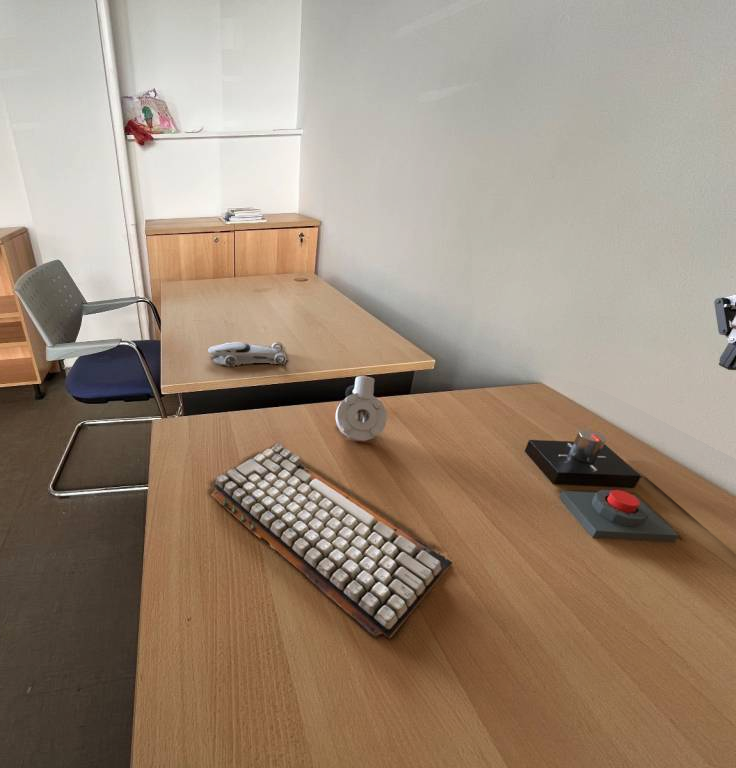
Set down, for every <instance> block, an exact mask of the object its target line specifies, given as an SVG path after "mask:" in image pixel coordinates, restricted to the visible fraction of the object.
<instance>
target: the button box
mask: <svg viewBox="0 0 736 768" xmlns="http://www.w3.org/2000/svg"><path fill="white" fill-rule="evenodd" d="M611 491H613V489H601V490H599V491H597V492H591V491H572V490H571V491H570V490H561V492H560V494H559V496H558V500H560V501H561V503H562V504H563V506H565V507H566V509H567V510H568V511H569V513H570V514H571V515H572V516H573V517H574V518H575V519H576V520H577V522H578V523H579V524H580V526H582V528H583V529H584V530H585V531H586V532H587V533H588V535H589V536H590V537H591V538H592V539H607V540H622V541H639V542H653V543H654V542H655V543H656V542H657V543H670V544H671V543H672V544H673V543H675V542H676V541H677V539H678V538H679V536H680V535H679V533H677V532H676V531H675V530H674V529H673V528H672V527H671V526H670V525H669V524H668V523H666V522H665V521H664V520H663V519H662V518H661V517H660V516H659V515H658V514H657V513H656V512H655V511H654V510H652V508H651V507H649V506H648V504H646V503H645V501H643V500H642V499H641V498H640V497H639V496H637V494H635V493H634V494H633V493H632V494H631V493H630V494H631V495H633V496H635V497H636V498H637V499H638V500H639V502H640V504H639V506H638V507H637V509H636V511H635V512H634V513H625V512H622V511H619V510H617V509H615V508H613V507H612V506H610V505H609V504H608V503H607V498H608V496H609V495H610V493H611Z"/></svg>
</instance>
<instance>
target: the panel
mask: <svg viewBox="0 0 736 768" xmlns="http://www.w3.org/2000/svg"><path fill="white" fill-rule="evenodd" d="M574 441H575V440H574ZM574 441H572V440H568V441H567V440H546V439H545V440H543V439H542V440H541V439H528V441H527V444H526V447H525V449H524V452H525V454H526V455H527V456H528V458H529V459H531V461H532V462H533V463H534V464H535V465H536V466H537V468H538V469H539V470H540V471H541V472H542V473H543V475H544V476H545V477H546V479H548V481H549V482H550V483H551V484H552V485H558V486H559V485H560V486H581V487H602V488H621V489H622V488H623V489H635V488H636V486H637V484H638V483H639V481H640V479H641V478H642V475H641V474H640V473H639V472H638V471H636V469H635V468H633V467H632V466H631V465H630V464H628V463H627V462H626V461H625V460H624V459H623V458H622V457H621V456H620V455H618V454H617V453H616V452H614V450H612V449H611V448H610V447H609V446H608V445H606V443H604V445H603V447H602V449H601V451H600V453H599V455H598V457H597V459H596V461H595V462H593V463H585V462H581V461H578V460H576V459H574V458H573V457H572V456H571V455H570V454H569V451H570V449H571V447H572V445H573V443H574Z"/></svg>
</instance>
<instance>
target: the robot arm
mask: <svg viewBox="0 0 736 768" xmlns="http://www.w3.org/2000/svg"><path fill="white" fill-rule="evenodd" d="M713 304H714V311H715V316H716V323H717V324H716V325H717V331H718V334H719V335H720V336H725V337H726V338H727V342H728V344H727V346H726V347H725V349H724V350H723V352H722V353H721V355H720V357H719V359H718V360H719V362H718V366H719V367H722V368H724V369H726V370H728V371H736V294H733V295H730V296H727V297H717V298H715V300H714V302H713Z"/></svg>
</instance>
